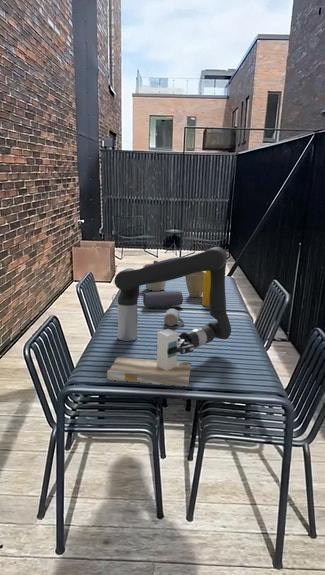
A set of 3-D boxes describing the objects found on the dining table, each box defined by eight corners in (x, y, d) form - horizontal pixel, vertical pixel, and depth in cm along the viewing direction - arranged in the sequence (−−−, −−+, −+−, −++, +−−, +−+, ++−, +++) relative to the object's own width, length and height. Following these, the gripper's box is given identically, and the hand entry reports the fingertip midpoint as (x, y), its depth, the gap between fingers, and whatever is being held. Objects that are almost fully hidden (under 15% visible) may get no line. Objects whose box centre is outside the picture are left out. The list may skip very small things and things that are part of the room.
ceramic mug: (163, 326, 203) (163, 312, 201) (165, 321, 211) (165, 307, 209) (183, 328, 202) (184, 314, 200) (184, 323, 210) (185, 309, 208)
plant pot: (191, 292, 273) (192, 270, 269) (210, 296, 264) (211, 273, 260) (179, 296, 261) (180, 273, 257) (198, 300, 252) (200, 276, 249)
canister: (158, 294, 265) (159, 263, 260) (137, 290, 275) (137, 260, 270) (172, 289, 280) (173, 260, 275) (151, 285, 290) (152, 257, 285)
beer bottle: (212, 307, 238) (214, 261, 231) (199, 304, 243) (201, 259, 236) (219, 304, 245) (222, 259, 238) (206, 301, 250) (209, 257, 243)
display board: (117, 362, 159) (117, 354, 158) (190, 368, 155) (191, 360, 154) (107, 380, 144) (107, 371, 143) (188, 387, 140) (188, 378, 139)
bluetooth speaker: (177, 304, 244) (178, 288, 241) (183, 308, 235) (183, 292, 233) (142, 306, 237) (142, 290, 234) (146, 311, 228) (147, 294, 226)
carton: (156, 365, 151) (157, 331, 148) (167, 362, 155) (168, 328, 151) (166, 370, 147) (167, 336, 144) (176, 366, 151) (178, 332, 147)
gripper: (180, 325, 163) (150, 334, 151) (206, 335, 152) (176, 346, 141) (180, 342, 164) (149, 352, 153) (205, 353, 154) (175, 365, 143)
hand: (162, 349), depth 147 cm, fingers closed on carton, 5 cm apart
